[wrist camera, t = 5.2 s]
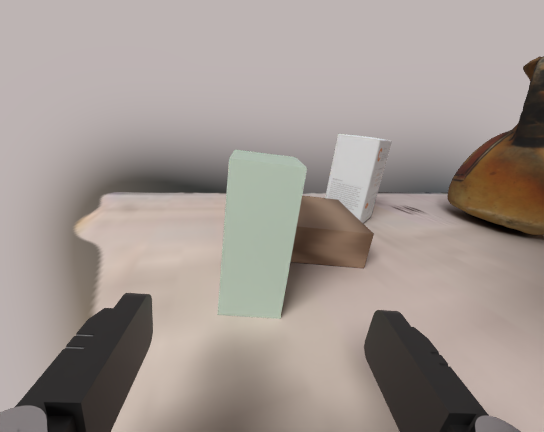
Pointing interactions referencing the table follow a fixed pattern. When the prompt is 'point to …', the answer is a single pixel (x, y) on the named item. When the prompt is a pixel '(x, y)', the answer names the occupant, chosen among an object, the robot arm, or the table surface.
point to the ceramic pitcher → (509, 168)
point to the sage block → (259, 232)
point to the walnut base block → (330, 234)
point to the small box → (357, 173)
